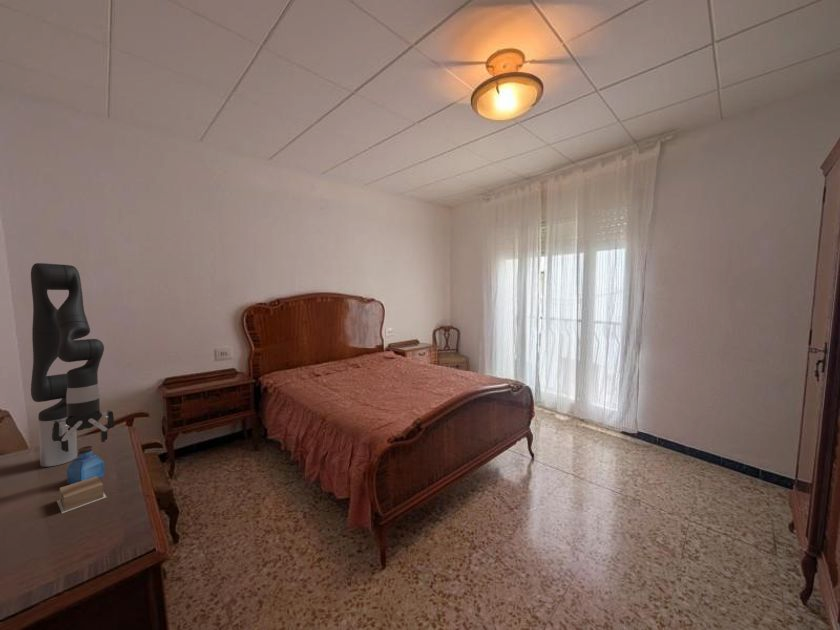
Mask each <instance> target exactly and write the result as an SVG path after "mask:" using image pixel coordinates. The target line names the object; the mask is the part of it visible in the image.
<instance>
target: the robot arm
mask: <svg viewBox="0 0 840 630" xmlns="http://www.w3.org/2000/svg"><path fill="white" fill-rule="evenodd" d="M30 283H31V285H30V286H31V296H32V306H33V307H32V308H33V309H32V310H33V312H32V313H33V314H32V329H31V330H32V333H31V334H32V337H31V339H32V340H31V342H32V356H33V357H32V359H33V361H32V372H31V383H30V396H31V400H33V401H34V402H36V403H41V402H42V403H44V402H48V401H54V400H59V401H58V402H57V403H55V404H54V405H51V406H49V407H48V408H45V409H42V410H41V411H39V413H38V415H37V417H38V431H39V432H38V435H39V459H40V460H39V461H40V464H39V465H40V467H42V468H43V467H44V468H45V467H46V468H48V467H55V466H59V465H63V464H66V463H68V462H71V461H72V462H73V460H75V459H77V458H78V445H77V444H78V441H77V439H78V438H77V431H78V432H79V431H82V430H85V429H91V428H93V427H94V426H95V428H98V429H99V430H100V442H101V443H105V442H106V440H108V431H109V430H110V429H113V428H114V427H115V418H114V412H113V411H112V410H111V409H108V410H107V411H103V412H101V406H100V403H101V402H100V396H101V395H100V389H99V382H98V381H99V379H98V371H99V366H100V363H101V360H102V358H103V355H104V352H105V346H104V343H103V342H102V341H101V340H100V339H98V338H87V339H82V338H85V337H87V336H88V335H90V333H91V328H90V324H89V322H88V319H87V316H86V313H85V309H84V308H85V306H84V297H83V289H82V280H81V276H80V273H79V270H78V269H77V267H75V265H74V266H73V265H69V264H62V263H61V264H57V263H44V262H43V263H42V262H37V263H33V265H32V266H31V269H30ZM49 290H50V291H68V295H67V296H66V299H65V300H64V301H63V303H61V305H60V306H59V308H58V309H57V307H56V306H55V305H54V304H53V302H52V301H51V299H50V298H49V297H50V296H49V295H48V291H49ZM57 359H59V360H60V361H63V362H65V363H74V362H75V363H76V362H83V361H86V362H85V363H84V364H83V365H82V366H78V367H75V368H72V369H69V370H67V372H66V373H62V374H61V373H60V374H51V375H48V372H49V370H50V368H51V367H52V365H53V363H54V362H55V361H56V360H57ZM102 417H104V418H106V419H107V420H106V421H107V424H106V425H104V424H102V423H101V422H99V421H100V419H101V418H102Z"/></svg>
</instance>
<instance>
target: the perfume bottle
mask: <svg viewBox="0 0 840 630" xmlns="http://www.w3.org/2000/svg"><path fill="white" fill-rule="evenodd" d="M93 452H94V451H93V446H91V445H88V446H82V447H80V448H78V452H77V458H75V459H73V460H72V462H71V463H70V464H69V465H68V467H67V468H66V473H67V474H66V475H67V476H66V477H67V484H69V485H70V484H74V483H77V482H80V481H83V480H86V479H89V478H92V477H96V476H97V477H98V478H99V479H100V478H101V477H104V476H105V462H104V460H102V459H101V457H99V456H98V455H94V454H93Z"/></svg>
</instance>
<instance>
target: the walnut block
mask: <svg viewBox="0 0 840 630" xmlns="http://www.w3.org/2000/svg"><path fill="white" fill-rule="evenodd" d="M102 482H103V481H101V479H100V477H99V478H98V477H97V476H96V477H92V478H89V479H86V480H83V481H80V482H77V483H74V484H70V483H69V484H68V485H65V486H64V485H63V486H62V487H59V500H60V501H61V504H62V506H63V508H64V510H65V511H67V510H70V509H72V508H75V507H78V506H81V505H83V504H86V503H89V502H92V501H94V500H97V499H100V498H103V497H104V496H103V492H104V484H103V483H102ZM103 499H104V498H103ZM100 500H101V499H100ZM97 501H98V500H97ZM92 503H93V502H92ZM89 504H90V503H89ZM86 505H87V504H86ZM81 507H82V506H81ZM78 508H79V507H78ZM75 509H76V508H75ZM70 511H71V510H70ZM67 512H68V511H67Z"/></svg>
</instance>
